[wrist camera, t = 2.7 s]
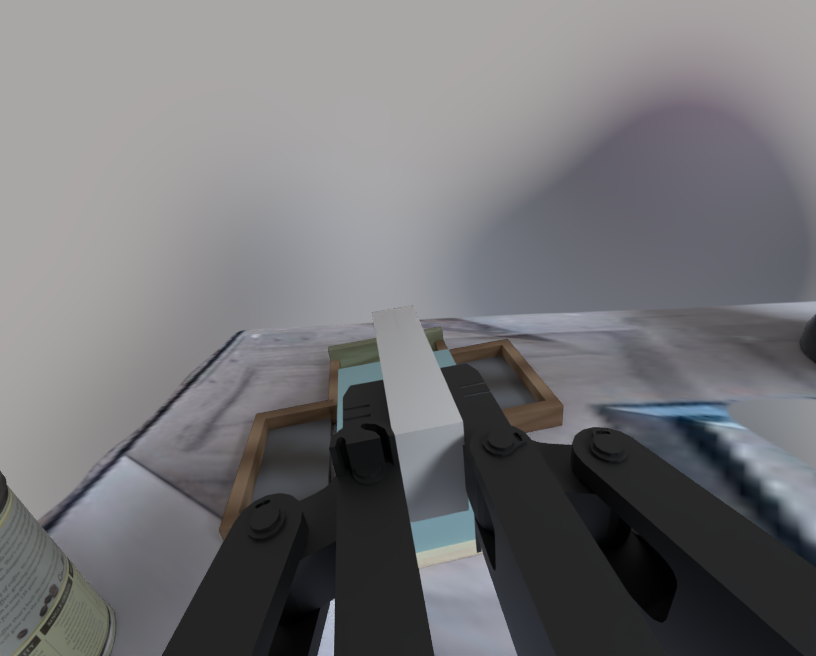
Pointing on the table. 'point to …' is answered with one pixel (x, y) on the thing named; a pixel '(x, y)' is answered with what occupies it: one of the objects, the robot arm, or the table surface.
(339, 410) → the teal block
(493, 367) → the trap lane
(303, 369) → the table surface
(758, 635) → the robot arm
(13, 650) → the coffee can
